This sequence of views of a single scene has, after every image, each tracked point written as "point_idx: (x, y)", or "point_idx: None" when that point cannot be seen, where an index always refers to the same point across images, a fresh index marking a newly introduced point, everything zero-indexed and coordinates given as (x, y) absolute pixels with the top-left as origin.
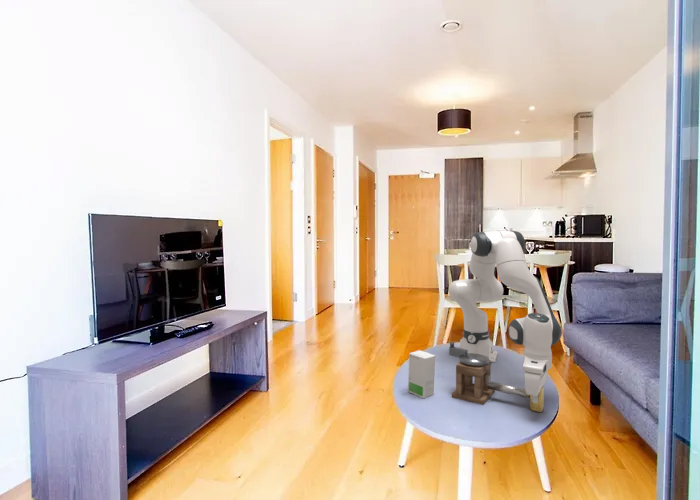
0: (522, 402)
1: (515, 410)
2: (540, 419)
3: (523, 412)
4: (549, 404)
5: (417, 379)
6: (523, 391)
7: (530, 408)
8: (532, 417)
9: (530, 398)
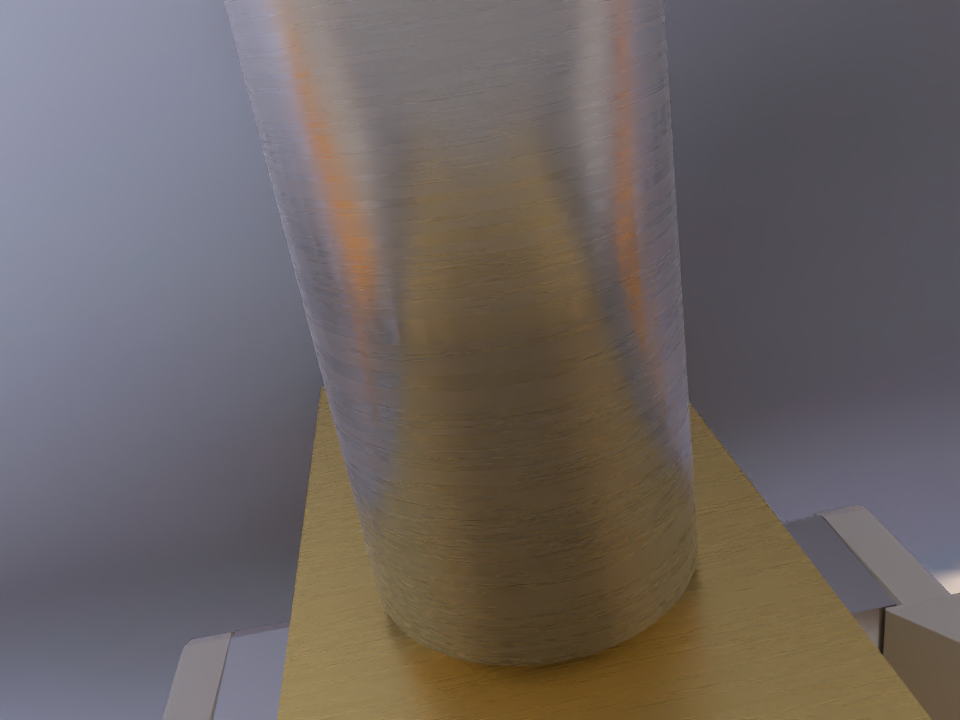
0: (678, 39)
1: (17, 109)
2: (78, 672)
3: (89, 312)
4: (922, 523)
5: None
6: (355, 379)
7: (325, 409)
8: (21, 546)
9: (301, 573)
